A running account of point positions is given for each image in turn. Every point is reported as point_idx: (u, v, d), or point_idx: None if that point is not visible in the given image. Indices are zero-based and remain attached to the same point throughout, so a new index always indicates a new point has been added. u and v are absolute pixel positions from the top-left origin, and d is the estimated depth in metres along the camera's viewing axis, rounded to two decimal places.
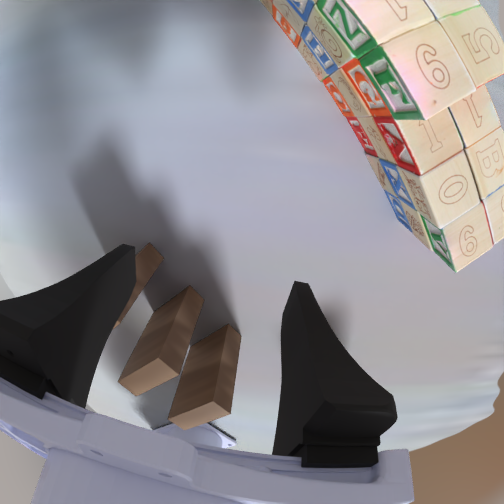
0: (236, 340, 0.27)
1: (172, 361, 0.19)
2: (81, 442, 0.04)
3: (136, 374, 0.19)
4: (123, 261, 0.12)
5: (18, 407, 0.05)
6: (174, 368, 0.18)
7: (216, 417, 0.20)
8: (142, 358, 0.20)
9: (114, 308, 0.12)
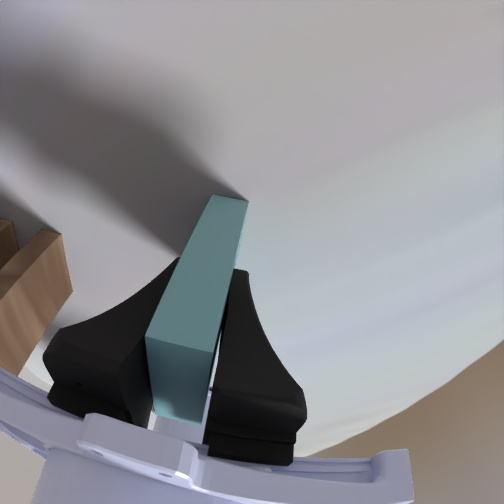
0: (46, 241, 0.16)
1: None
2: (81, 442, 0.04)
3: None
4: None
5: (18, 407, 0.05)
6: None
7: None
8: None
9: None
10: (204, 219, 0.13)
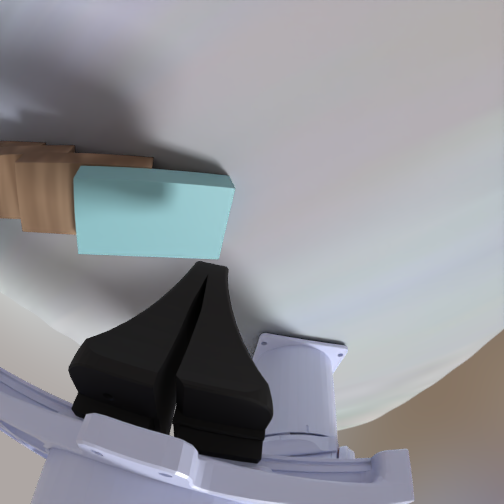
0: (133, 163, 0.17)
1: None
2: (81, 442, 0.04)
3: None
4: (206, 280, 0.12)
5: (18, 407, 0.05)
6: None
7: (17, 179, 0.14)
8: None
9: (195, 329, 0.12)
10: (187, 172, 0.17)
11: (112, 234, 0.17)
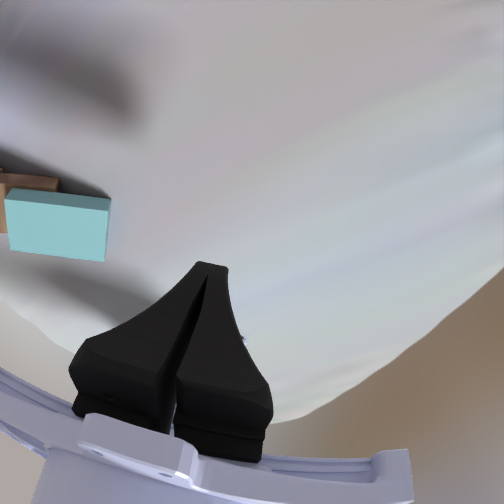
0: (43, 183, 0.20)
1: None
2: (81, 442, 0.04)
3: None
4: (206, 280, 0.12)
5: (18, 407, 0.05)
6: None
7: None
8: None
9: (195, 329, 0.12)
10: (80, 196, 0.21)
11: (30, 238, 0.20)
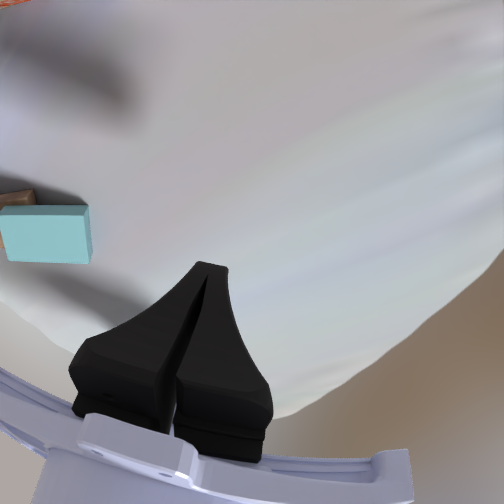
0: (19, 196, 0.22)
1: None
2: (81, 442, 0.04)
3: None
4: (206, 280, 0.12)
5: (18, 407, 0.05)
6: None
7: None
8: None
9: (195, 329, 0.12)
10: (61, 206, 0.23)
11: (23, 248, 0.22)
